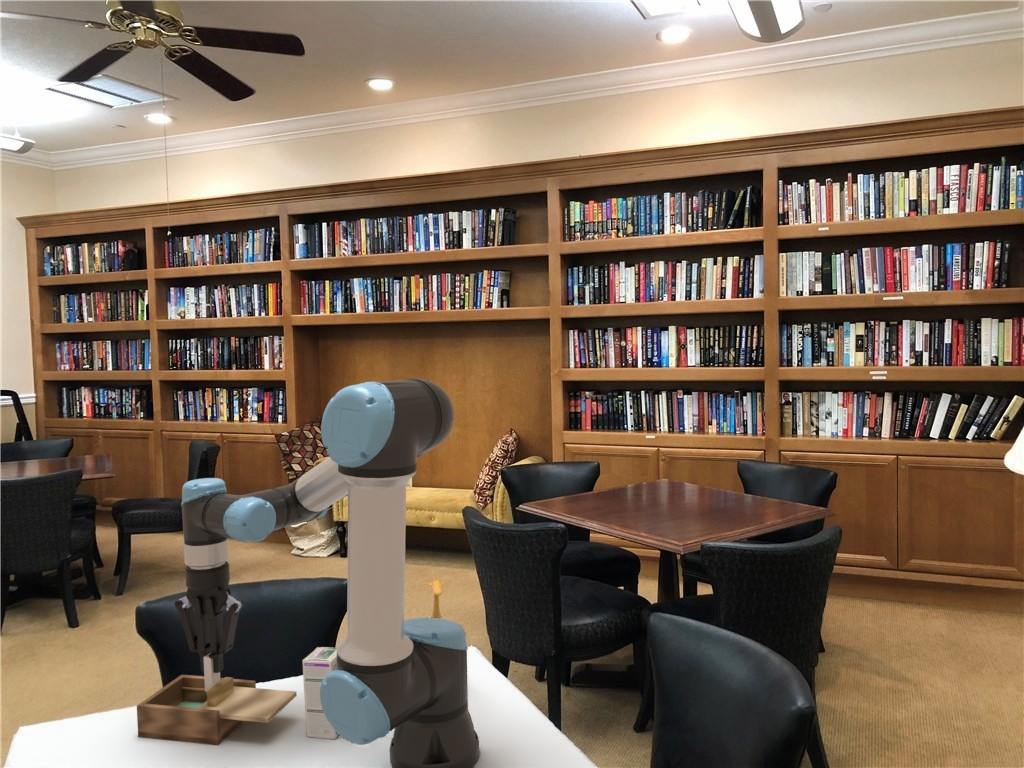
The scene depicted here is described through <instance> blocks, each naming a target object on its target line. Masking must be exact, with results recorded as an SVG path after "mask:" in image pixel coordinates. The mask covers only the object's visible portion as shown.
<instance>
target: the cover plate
mask: <svg viewBox="0 0 1024 768" xmlns="http://www.w3.org/2000/svg"><path fill="white" fill-rule="evenodd" d="M223 678H224V679H222V680H221V681H220V682H218V683H217V684H216V685H214V686H213V687H212V688H210V689H209V690H208V691H207V701H206V702H205V703H203V704H202V705H201V706H199V707H198V709H209V710H219V711H220V718H222V719H232V720H243V721H244V722H257V723H266V724H269V723H270V722H271V721H272V719H274V718H275V717H276V716H277V715H278V714H279V713H280V712H282V710H283V709H284V708H285V707H286V706H287V705H288V704H290V702H292V701H293V700H294V699H295V698H296V697H297V691H294V690H284V689H283V690H282V689H268V688H257V687H256V688H248V687H237V686H234V685H233V679H234V677H231V676H225V677H223Z"/></svg>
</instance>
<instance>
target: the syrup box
mask: <svg viewBox="0 0 1024 768" xmlns="http://www.w3.org/2000/svg"><path fill="white" fill-rule="evenodd" d="M336 667H337V647H335V646H334V647H332V646H331V647H330V646H329V647H328V646H321V647H320V646H317V647H316V648H315V649H314V650H313V651H312V652H310V653H309V654H308V655H307V656H305V657H304V658H303V659H302V679H303V692H304V693H303V695H304V698H303V699H304V712H305V715H304V716H305V732H306V737H309V738H315V739H326V740H336V739H337V737H338V736H340V735H339V734H338V733H337V732H336V731H335V730H334V729H333V727H332V725H331V724H330V723H329V722H328V720H327V718H326V716H325V714H324V711H323V709H322V705H321V700H320V687H321V683H322V681H323V680H324V679H325V678H326V676H327V675H328V674H329V672H331V671H335V670H336Z"/></svg>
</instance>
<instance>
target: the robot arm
mask: <svg viewBox="0 0 1024 768" xmlns="http://www.w3.org/2000/svg"><path fill="white" fill-rule="evenodd" d="M454 423H455V409H454V404H453V401H452V399H451V397H450V396H449V394H448V393H447V392H446V391H445V390H444V389H443V387H441V386H440V385H438V384H437V383H436V382H433V381H430V380H428V379H426V378H418V377H417V378H415V377H414V378H406V379H395V380H394V379H393V380H383V381H382V380H381V381H380V380H379V381H364V382H362V383H358V384H351V385H349V386H346V387H343V388H342V389H339V390H338V391H337V392H336V393H335V395H333V397H332V398H331V399H330V400H329V401H328V403H327V405H326V407H325V409H324V412H323V415H322V419H321V425H320V426H321V427H320V428H321V429H320V431H321V433H320V435H321V440H322V441H321V442H322V444H323V447H324V448H325V449H327V451H326V454H327V455H328V457H327V458H326V459H324V460H323V461H321V462H320V463H318V464H316V465H315V466H313V467H312V468H311V469H309V470H308V471H307V472H305V473H304V474H302V475H301V476H300V477H299V478H297V479H295V480H293V481H292V482H291V483H289V484H286V485H283V486H278V487H274V488H273V487H272V488H270V489H265V490H260V491H255V492H250V493H245V494H241V495H240V494H230V493H227V491H228V490H227V487H226V482H225V480H224V479H222V478H219V477H204V478H198V479H192V480H189V481H186V482H184V484H183V485H182V489H181V490H182V491H181V503H180V504H181V505H180V506H181V514H182V516H181V517H182V530H183V531H182V532H183V541H184V542H183V551H184V557H183V558H184V564H185V565H186V567H185V568H184V571H185V572H184V574H185V585H186V587H187V590H186V593H185V596H183V597H181V598H179V599H178V600H175V602H174V606H175V608H176V610H177V611H178V613H179V616H180V619H181V623H182V627H183V631H184V634H185V638H186V642H187V645H188V649H189V651H190V653H191V652H192V653H198V654H197V655H199V664H200V667H199V668H200V671H201V673H202V672H203V674H204V675H203V676H204V680H205V692H207V691H208V690H209V689H210V688H212V687H213V686H214V685H216V684H217V683H218V682H220V678H221V671H223V669H224V655H225V654H226V653H227V652H229V651H230V650H232V649H233V647H234V642H235V635H236V631H237V630H236V629H237V624H238V618H239V615H240V612H241V609H242V608H243V606H244V601H243V600H242V599H239V600H237V599H236V598H234V597H233V596H232V591H231V589H230V585H229V584H230V579H231V578H230V577H231V575H230V574H231V573H230V563H229V562H228V560H229V558H230V557H229V539H232V540H234V541H235V540H236V541H238V542H243V543H247V542H250V543H257V542H261V541H264V540H265V539H266V538H267V537H268V536H270V534H271V533H272V532H275V531H278V530H280V529H283V528H286V527H287V528H288V527H290V526H291V527H292V526H295V525H299V524H302V523H310V522H313V521H315V520H317V519H320V518H322V517H324V516H325V515H326V514H327V513H328V510H329V508H330V506H332V505H333V504H335V503H336V502H338V501H340V500H341V499H343V498H345V497H346V496H347V511H348V512H347V594H346V595H347V598H346V599H347V601H346V602H347V603H346V605H347V607H346V610H347V612H346V613H347V614H346V615H347V618H346V621H347V622H346V634H347V635H346V636H345V637H344V638H343V639H341V641H340V642H339V643H338V645H337V646H336V648H337V667H336V670H335V671H331V672H329V674H328V675H327V676H326V678H325V679H324V680H323V681H322V683H321V687H320V700H321V705H322V709H323V711H324V714H325V716H326V718H327V720H328V722H329V723H330V724H331V725H332V727H333V729H334V730H335V731H336V732H337V733H338V734H339V735H338V736H340V737H341V738H342V739H344V740H345V741H347V742H349V743H352V744H355V745H361V746H362V745H367V744H370V743H372V742H374V741H376V740H378V739H379V738H380V739H381V738H384V737H386V736H387V735H388V734H389V733H390V732H391V731H393V730H394V732H393V736H392V738H391V741H390V745H389V763H390V765H391V767H392V768H472V767H473V766H475V764H476V763H477V762H478V760H479V758H480V739H479V736H478V733H477V732H476V730H475V726H474V722H473V719H472V717H471V714H470V711H469V710H470V709H469V701H468V698H469V695H468V694H469V693H468V692H469V691H468V689H469V687H468V648H469V647H468V645H467V636H466V631H465V628H464V627H463V626H462V625H461V624H460V623H458V622H456V621H454V620H450V619H445V618H442V619H441V618H428V617H417V618H416V617H414V618H410V619H406V620H405V590H406V586H405V584H406V582H405V581H406V579H405V578H406V577H405V576H406V529H407V528H406V526H407V525H406V521H407V519H406V518H407V515H406V513H407V512H406V511H407V510H406V509H407V484H408V482H409V481H410V479H412V478H413V477H414V476H415V475H416V474H417V472H418V471H417V470H418V469H417V464H418V463H417V462H418V458H420V457H421V456H423V455H424V454H427V453H428V452H430V451H432V450H434V449H435V448H437V447H439V446H441V445H442V444H443V443H444V442H445V441H446V440H447V438H449V436H450V434H451V432H452V431H453V427H454ZM226 605H227V606H226ZM225 607H226V608H225ZM225 610H226V614H225ZM224 615H225V618H223V617H224Z"/></svg>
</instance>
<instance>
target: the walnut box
mask: <svg viewBox="0 0 1024 768" xmlns="http://www.w3.org/2000/svg"><path fill="white" fill-rule="evenodd" d="M224 678H225V677H220V681H221V680H222V679H224ZM233 685H234V686H237V687H248V688H257V687H256V685H257V684H256V680H249V679H239V678H236V679H235V678H233ZM206 701H207V692H205V680H204V675H190V674H181V675H179V676H177V677H176V678H175V679H173V680H171V681H170V682H169V683H167V684H166V685H164V686H163V687H162V688H160V689H159V690H157V691H156V692H155V693H153V694H151V695H150V696H148V698H146V699H145V700H143V701H141V702H140V703H138V704H137V705H136V719H137V720H136V721H137V722H136V723H137V737H138V738H146V739H157V740H166V741H176V742H184V743H194V744H195V743H196V744H203V745H214V746H218V745H219V744H220V743H222V742H224V740H225V739H227V737H229V736H230V735H231V734H232V733H233V732H234V731H235V730H236V729H237V728H239V726H241V725H242V724H243V723H244V722H245V721H243V720H232V719H222V718H220V711H219V710H209V709H198V707H199V706H201V705H202V704H203V703H205V702H206Z"/></svg>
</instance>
